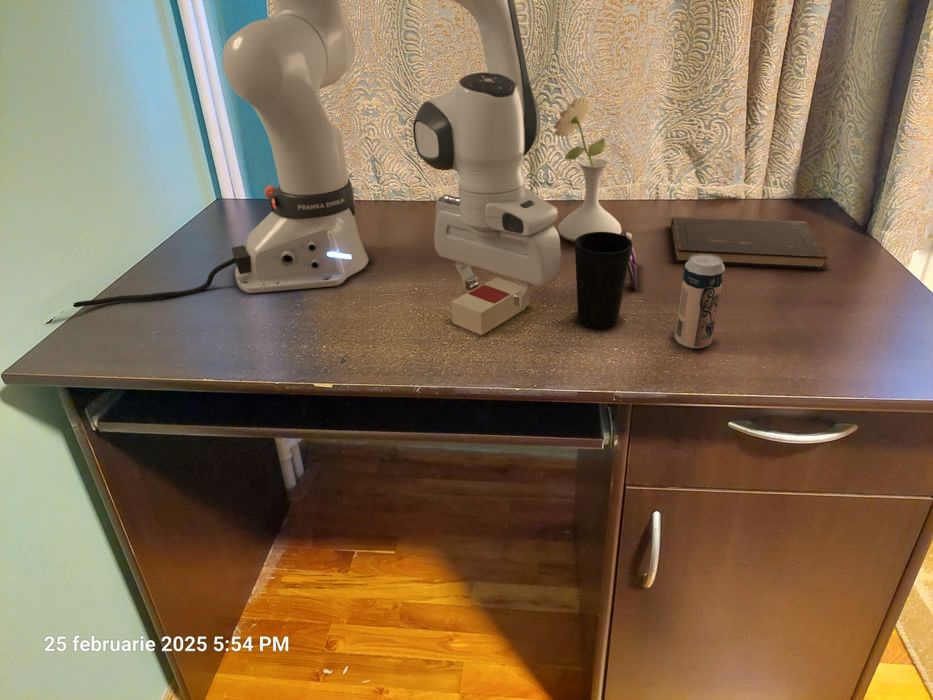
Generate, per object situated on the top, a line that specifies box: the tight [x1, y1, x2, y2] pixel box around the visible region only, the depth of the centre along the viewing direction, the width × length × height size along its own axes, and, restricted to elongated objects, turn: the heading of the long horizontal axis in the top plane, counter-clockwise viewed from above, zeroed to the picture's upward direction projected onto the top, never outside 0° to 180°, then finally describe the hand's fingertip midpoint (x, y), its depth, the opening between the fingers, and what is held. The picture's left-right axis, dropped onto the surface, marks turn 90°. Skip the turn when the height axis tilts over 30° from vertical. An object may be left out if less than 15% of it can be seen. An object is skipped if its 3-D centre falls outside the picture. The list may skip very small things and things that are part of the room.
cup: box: [574, 232, 634, 331], centre depth 92 cm, size 8×8×12 cm
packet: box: [451, 276, 526, 336], centre depth 97 cm, size 10×6×4 cm, turn 138°
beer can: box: [674, 253, 726, 350], centre depth 86 cm, size 5×5×12 cm
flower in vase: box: [553, 95, 622, 243], centre depth 115 cm, size 13×11×25 cm
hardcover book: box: [670, 216, 828, 271], centre depth 115 cm, size 16×23×2 cm
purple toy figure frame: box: [623, 229, 638, 291], centre depth 106 cm, size 7×5×9 cm
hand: (495, 296), depth 97 cm, fingers open, 8 cm apart
